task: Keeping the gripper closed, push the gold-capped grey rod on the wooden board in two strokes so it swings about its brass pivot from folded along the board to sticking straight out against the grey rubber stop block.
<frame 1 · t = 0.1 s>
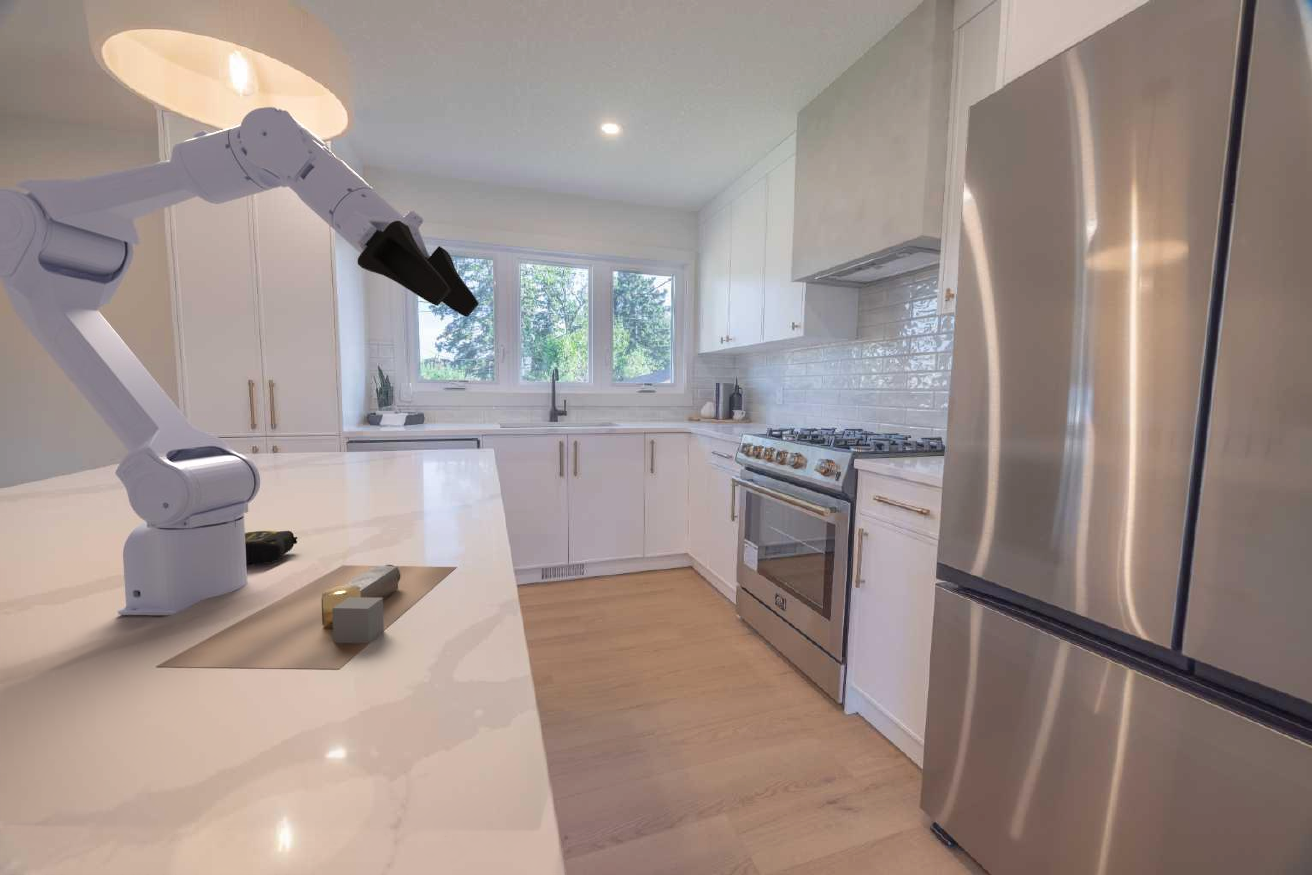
hand: (458, 304, 53), 32 cm above the countertop, fingers open, 7 cm apart
tape measure: (266, 563, 70), on the countertop
stop block: (359, 636, 45), resting on wooden board
gold-capped grey rod: (363, 591, 51), point 3 cm above the countertop, hinge at 90.0°
wooden board: (341, 619, 52), on the countertop
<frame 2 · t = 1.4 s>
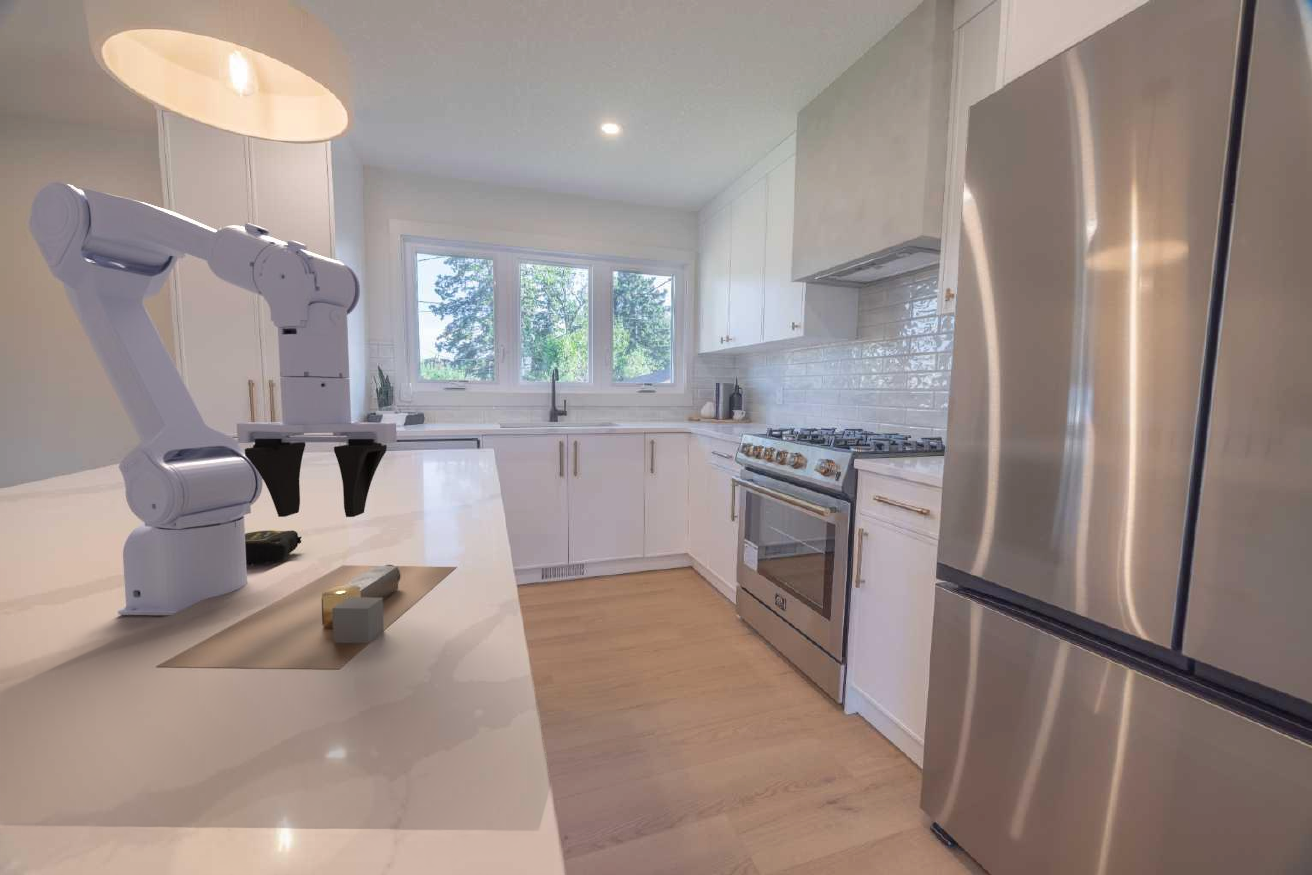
hand: (321, 514, 52), 10 cm above the countertop, fingers open, 6 cm apart
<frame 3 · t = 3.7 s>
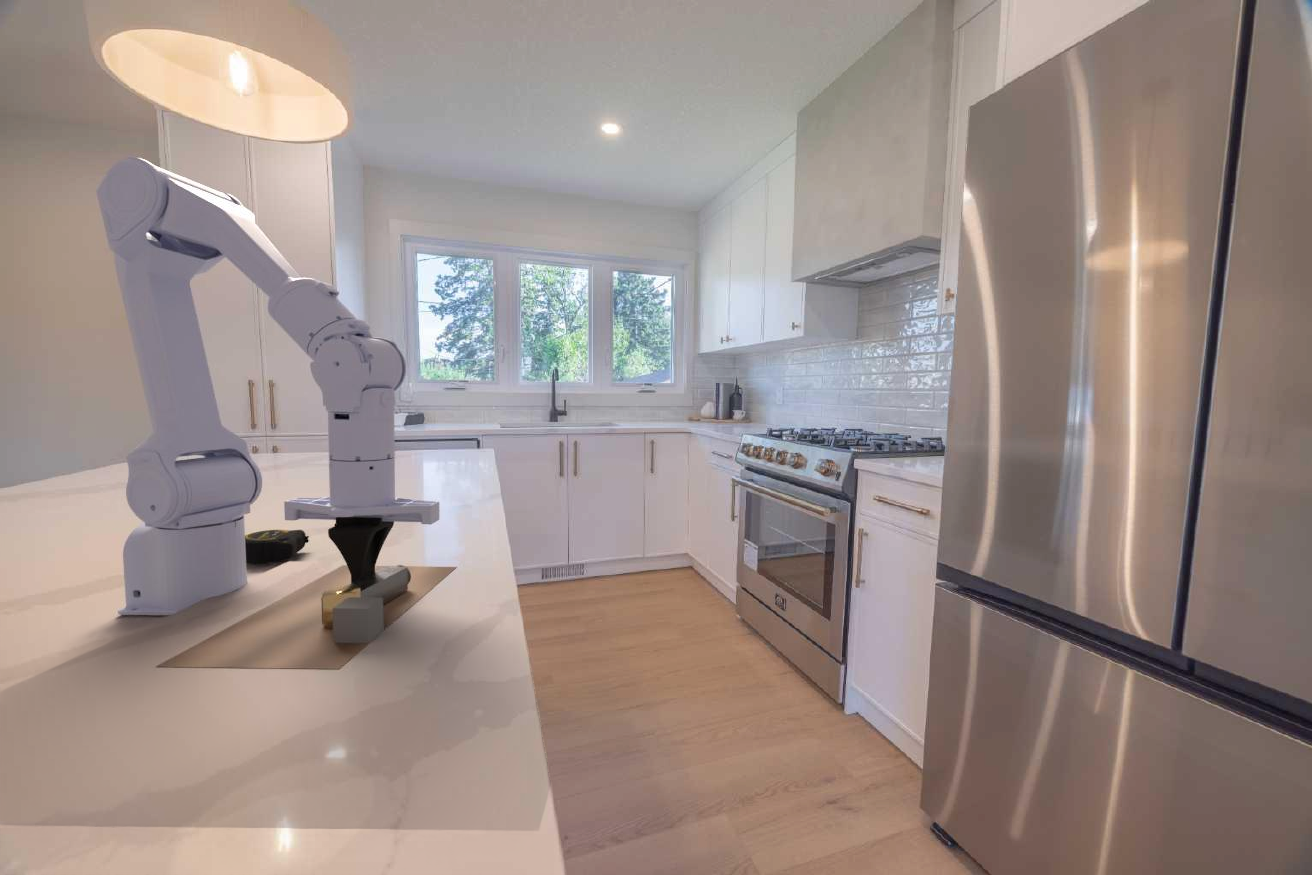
hand: (364, 590, 53), 3 cm above the countertop, fingers closed, pressing on gold-capped grey rod
gold-capped grey rod: (368, 591, 51), point 3 cm above the countertop, hinge at 81.5°, touching gripper
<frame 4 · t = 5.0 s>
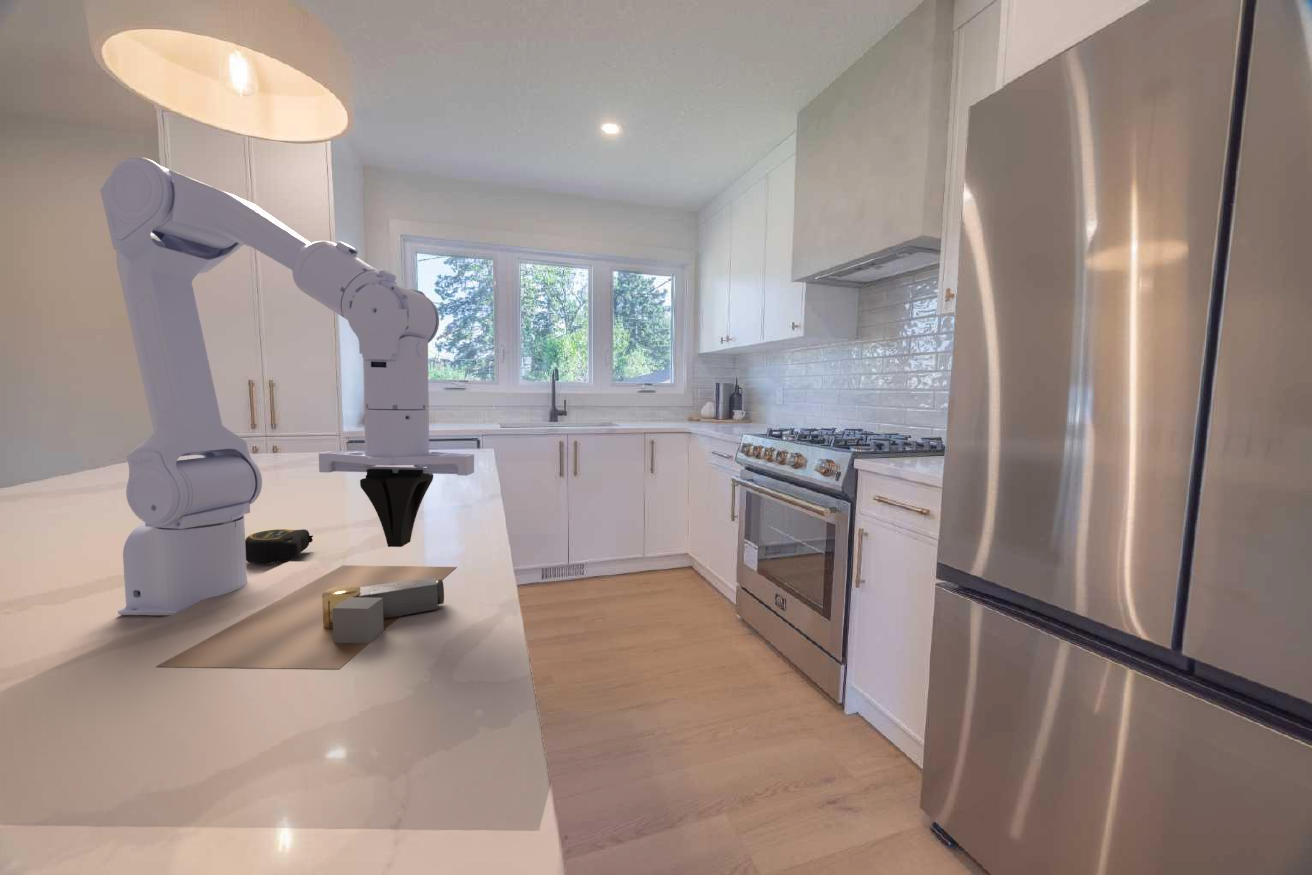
hand: (399, 544, 52), 7 cm above the countertop, fingers closed
gold-capped grey rod: (385, 599, 49), point 3 cm above the countertop, hinge at 29.7°
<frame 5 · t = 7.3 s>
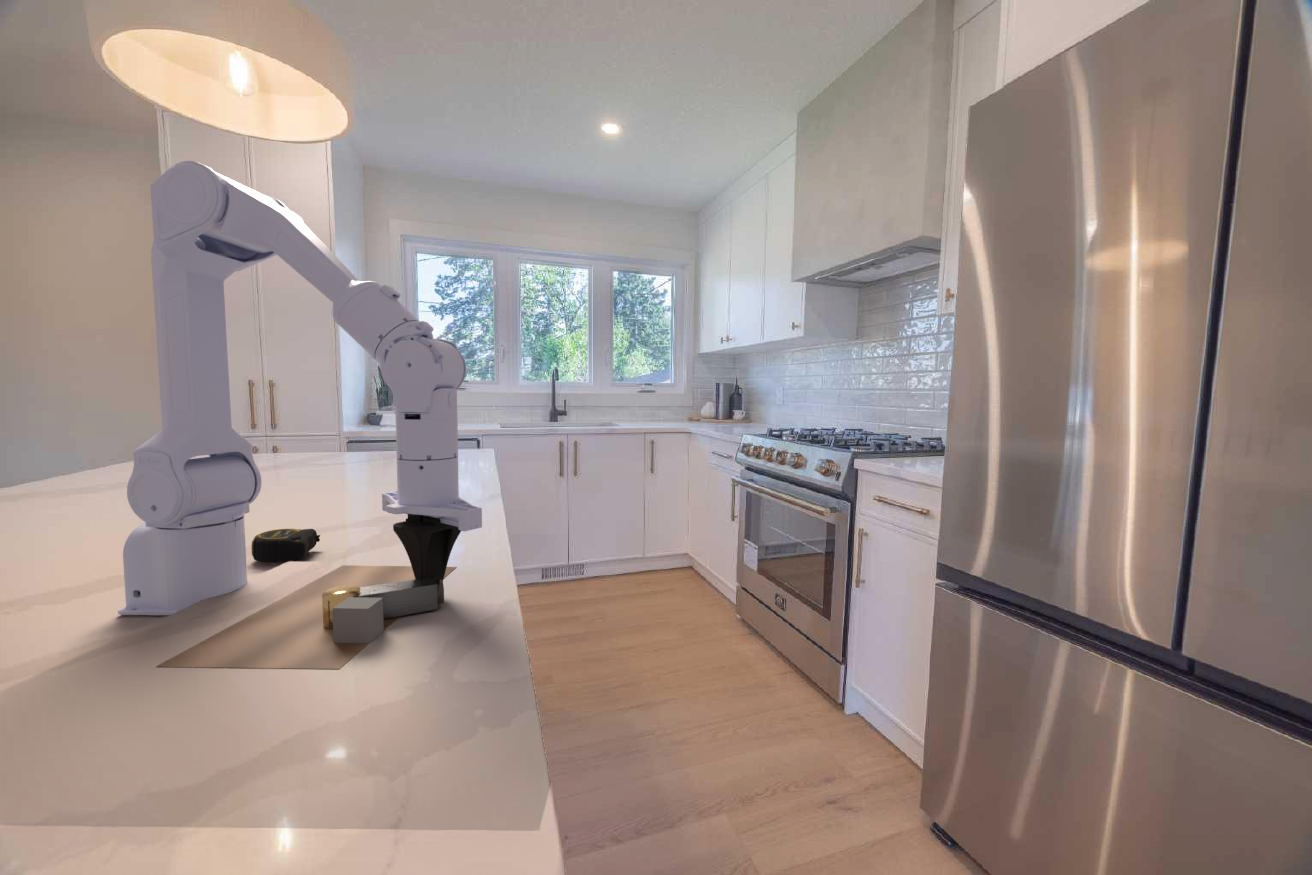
hand: (430, 587, 54), 3 cm above the countertop, fingers closed
gold-capped grey rod: (385, 599, 49), point 3 cm above the countertop, hinge at 29.3°, touching gripper
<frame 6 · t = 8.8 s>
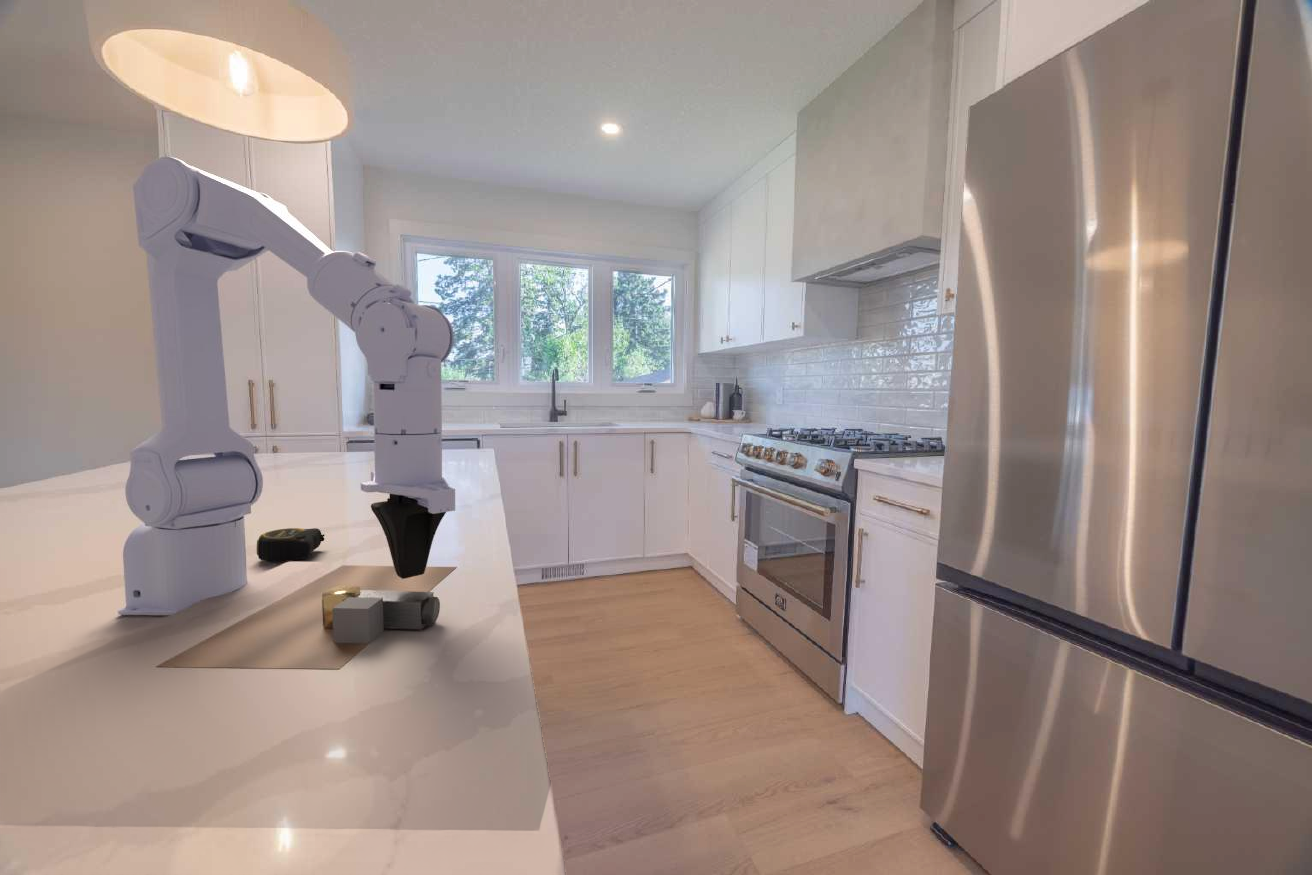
hand: (410, 574, 49), 5 cm above the countertop, fingers closed
gold-capped grey rod: (379, 607, 47), point 3 cm above the countertop, hinge at -2.7°, touching stop block
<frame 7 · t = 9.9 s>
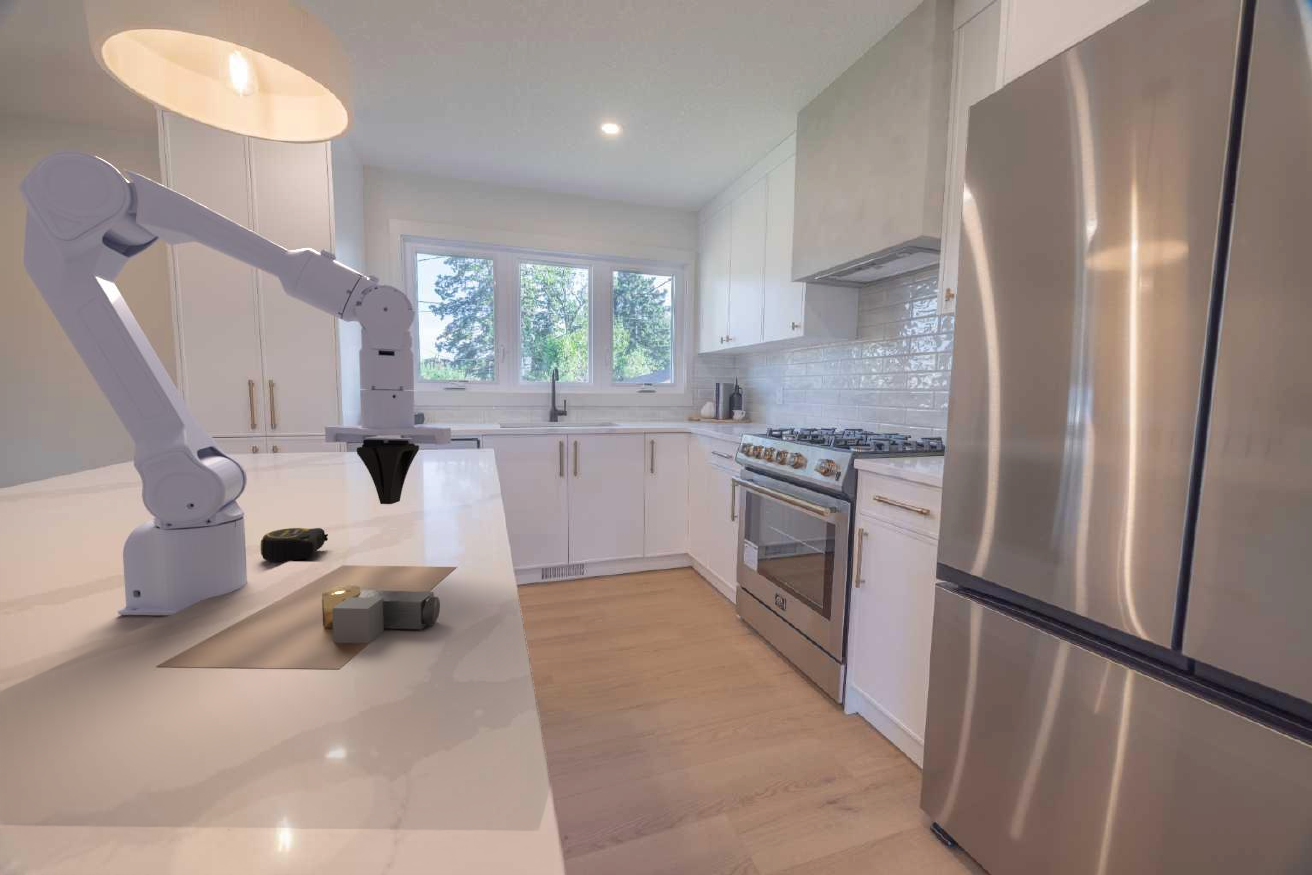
hand: (390, 502, 63), 9 cm above the countertop, fingers closed
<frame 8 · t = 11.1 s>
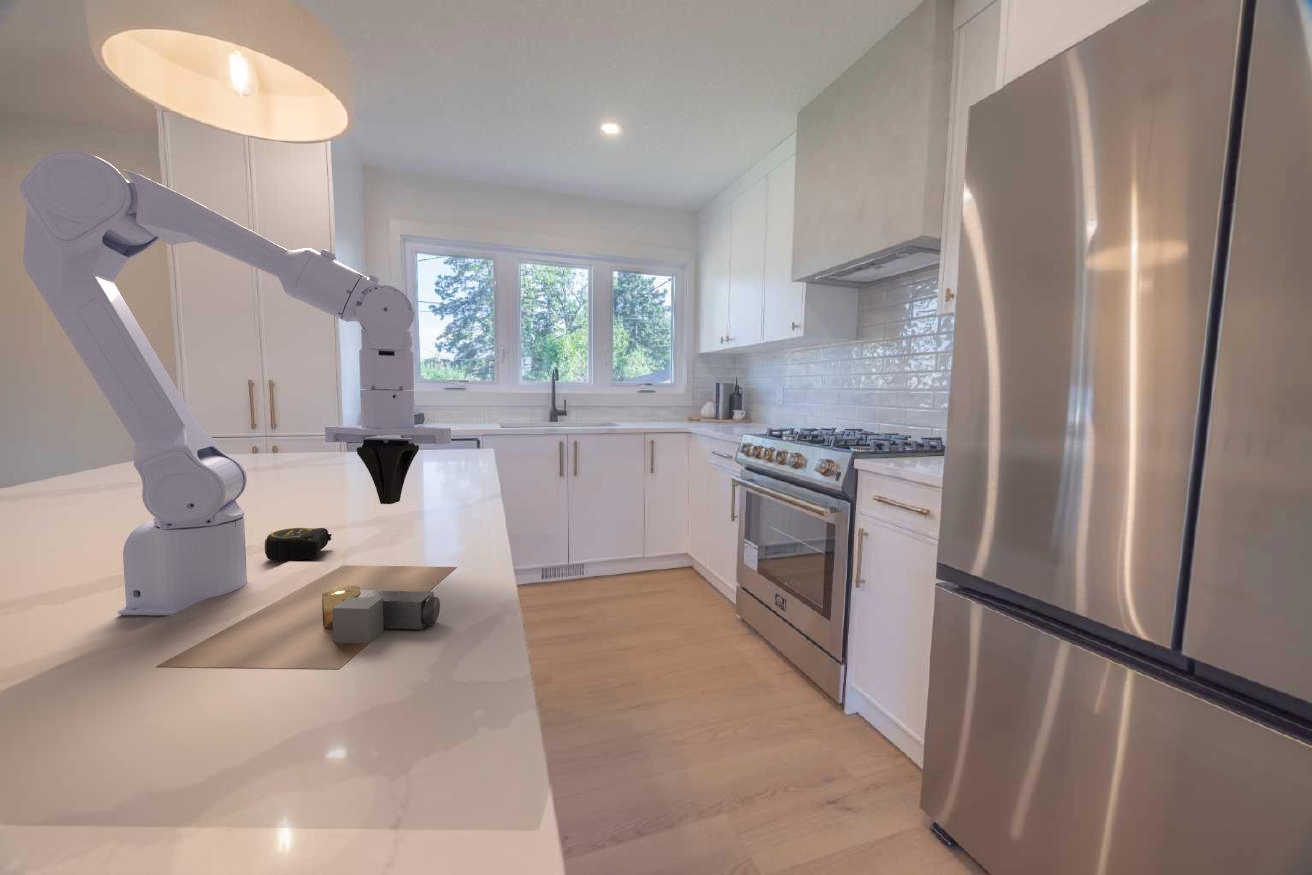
hand: (390, 502, 63), 9 cm above the countertop, fingers closed
gold-capped grey rod: (379, 607, 47), point 3 cm above the countertop, hinge at -2.5°
at the end: gold-capped grey rod at -2° (first picture: +90°) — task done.
